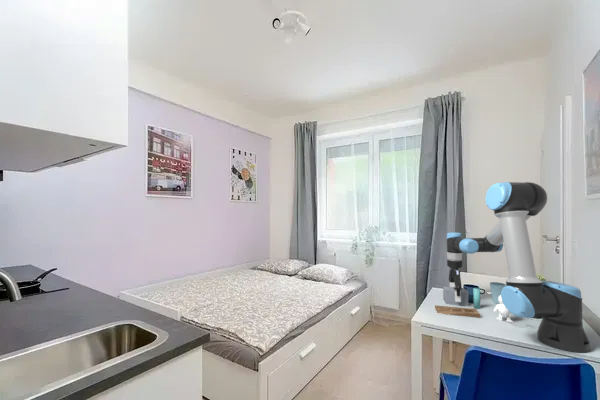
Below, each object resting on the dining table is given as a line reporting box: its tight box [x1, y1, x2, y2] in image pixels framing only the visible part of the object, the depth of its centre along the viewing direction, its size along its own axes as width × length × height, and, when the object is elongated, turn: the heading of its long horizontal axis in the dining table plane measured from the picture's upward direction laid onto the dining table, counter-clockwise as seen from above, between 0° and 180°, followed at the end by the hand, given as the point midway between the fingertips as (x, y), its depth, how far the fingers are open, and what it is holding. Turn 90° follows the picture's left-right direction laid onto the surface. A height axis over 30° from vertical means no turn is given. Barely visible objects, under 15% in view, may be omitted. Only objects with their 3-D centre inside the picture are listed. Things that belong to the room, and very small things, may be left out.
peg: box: [472, 287, 481, 310], centre depth 149 cm, size 3×3×10 cm
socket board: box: [434, 305, 481, 319], centre depth 142 cm, size 8×19×2 cm, turn 72°
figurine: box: [493, 295, 513, 323], centre depth 132 cm, size 8×5×12 cm, turn 60°
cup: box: [489, 281, 507, 305], centre depth 157 cm, size 8×8×10 cm
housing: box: [442, 286, 469, 307], centre depth 157 cm, size 8×11×8 cm
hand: (455, 297), depth 158 cm, fingers open, 13 cm apart
